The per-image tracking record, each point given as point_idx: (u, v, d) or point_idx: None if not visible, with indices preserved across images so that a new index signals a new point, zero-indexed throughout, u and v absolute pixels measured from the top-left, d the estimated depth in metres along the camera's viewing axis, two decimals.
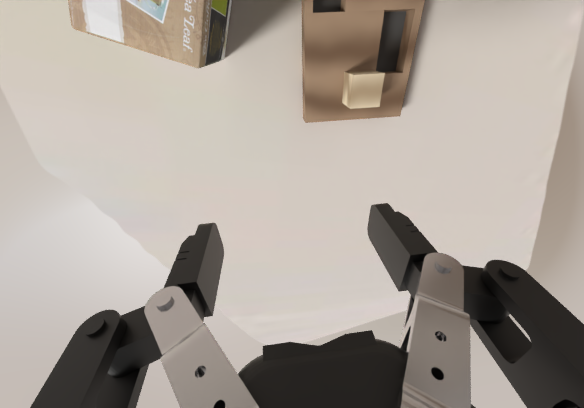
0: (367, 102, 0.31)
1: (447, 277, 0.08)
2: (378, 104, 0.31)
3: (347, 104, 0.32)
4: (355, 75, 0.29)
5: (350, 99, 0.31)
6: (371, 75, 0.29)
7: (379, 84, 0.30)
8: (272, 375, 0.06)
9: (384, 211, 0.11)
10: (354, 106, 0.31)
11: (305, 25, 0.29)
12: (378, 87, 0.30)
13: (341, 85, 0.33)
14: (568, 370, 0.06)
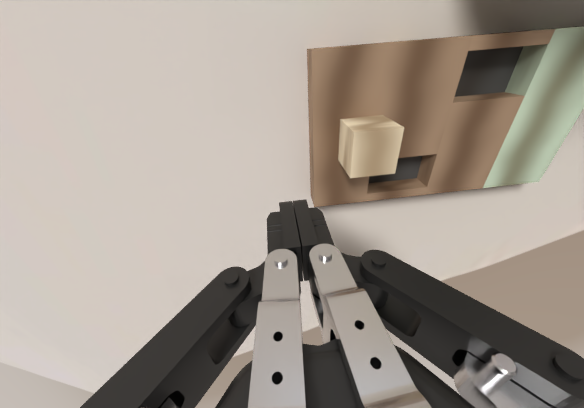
0: (358, 158, 0.19)
1: (323, 265, 0.08)
2: (353, 176, 0.20)
3: (351, 126, 0.19)
4: (401, 130, 0.18)
5: (365, 129, 0.18)
6: (396, 155, 0.19)
7: (381, 170, 0.20)
8: None
9: (299, 207, 0.12)
10: (356, 139, 0.18)
11: (457, 38, 0.19)
12: (377, 170, 0.20)
13: (365, 113, 0.21)
14: (452, 328, 0.07)
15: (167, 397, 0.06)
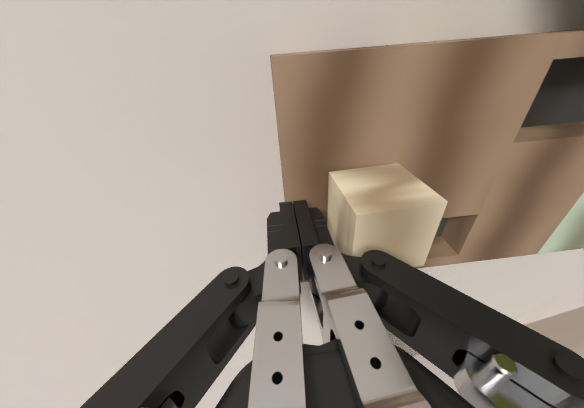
0: (364, 251, 0.11)
1: (323, 265, 0.08)
2: None
3: (350, 196, 0.11)
4: (442, 205, 0.10)
5: (377, 206, 0.10)
6: (429, 242, 0.11)
7: None
8: None
9: (299, 206, 0.12)
10: (360, 225, 0.10)
11: (537, 37, 0.10)
12: None
13: (369, 161, 0.13)
14: (452, 327, 0.07)
15: (167, 397, 0.06)
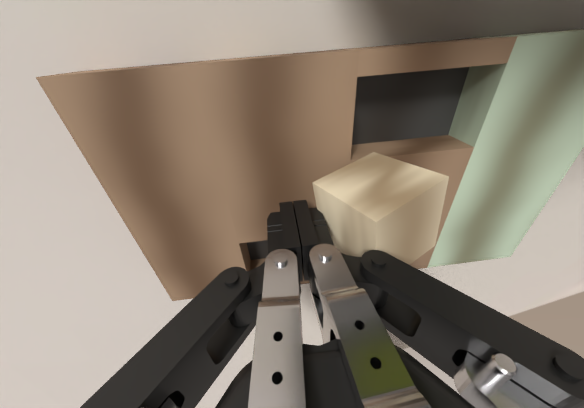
0: None
1: (323, 265, 0.08)
2: None
3: (353, 202, 0.09)
4: None
5: (389, 204, 0.09)
6: (437, 221, 0.11)
7: (418, 251, 0.11)
8: None
9: (299, 206, 0.12)
10: (380, 230, 0.09)
11: (330, 55, 0.10)
12: (413, 255, 0.11)
13: (199, 180, 0.12)
14: (452, 327, 0.07)
15: (167, 397, 0.06)
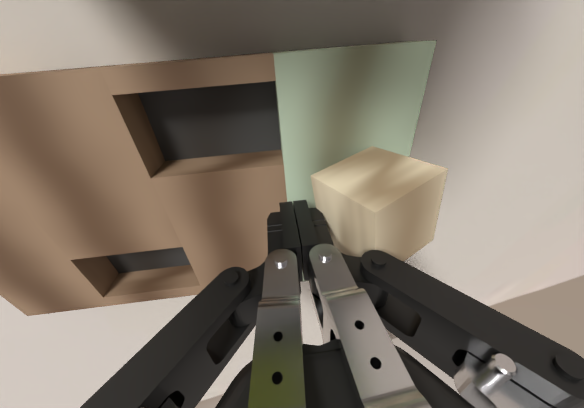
0: (385, 248, 0.10)
1: (323, 265, 0.08)
2: None
3: (352, 193, 0.09)
4: None
5: (388, 195, 0.09)
6: (436, 215, 0.11)
7: (417, 245, 0.11)
8: None
9: (299, 206, 0.12)
10: (379, 222, 0.08)
11: (72, 73, 0.09)
12: (412, 248, 0.11)
13: None
14: (452, 328, 0.07)
15: (167, 397, 0.06)
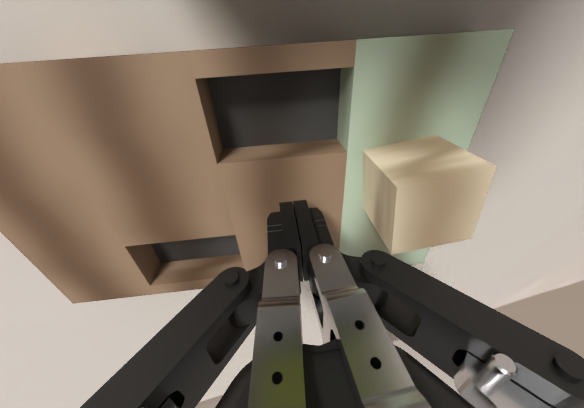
0: (406, 225, 0.11)
1: (323, 265, 0.08)
2: (397, 251, 0.11)
3: (388, 170, 0.10)
4: (490, 171, 0.09)
5: (418, 177, 0.10)
6: (476, 212, 0.11)
7: (447, 236, 0.11)
8: None
9: (299, 206, 0.12)
10: (401, 197, 0.10)
11: (159, 55, 0.10)
12: (440, 237, 0.11)
13: (58, 182, 0.12)
14: (452, 328, 0.07)
15: (167, 397, 0.06)
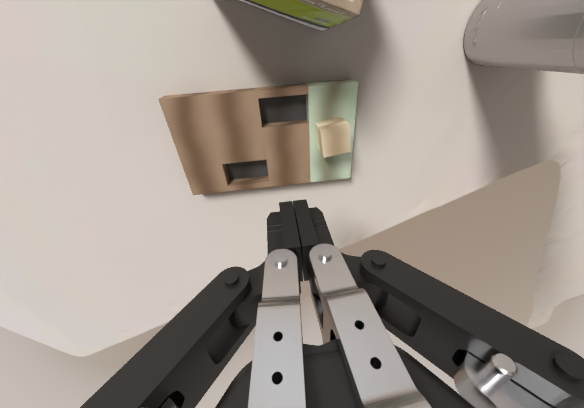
0: (326, 145, 0.33)
1: (323, 265, 0.08)
2: (325, 156, 0.33)
3: (320, 127, 0.32)
4: (348, 125, 0.31)
5: (327, 128, 0.32)
6: (349, 140, 0.32)
7: (342, 150, 0.33)
8: None
9: (299, 207, 0.12)
10: (322, 134, 0.32)
11: (248, 92, 0.31)
12: (339, 150, 0.33)
13: (206, 134, 0.34)
14: (452, 328, 0.07)
15: (167, 397, 0.06)
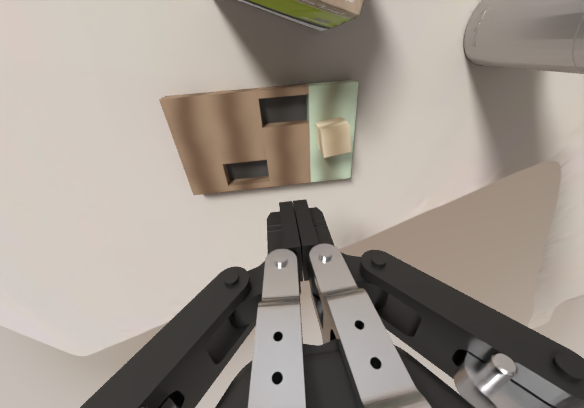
0: (326, 145, 0.33)
1: (323, 265, 0.08)
2: (325, 156, 0.33)
3: (320, 127, 0.33)
4: (348, 125, 0.31)
5: (327, 128, 0.32)
6: (349, 140, 0.33)
7: (342, 150, 0.33)
8: None
9: (299, 207, 0.12)
10: (322, 134, 0.32)
11: (248, 92, 0.32)
12: (339, 150, 0.33)
13: (206, 135, 0.34)
14: (452, 328, 0.07)
15: (167, 397, 0.06)
